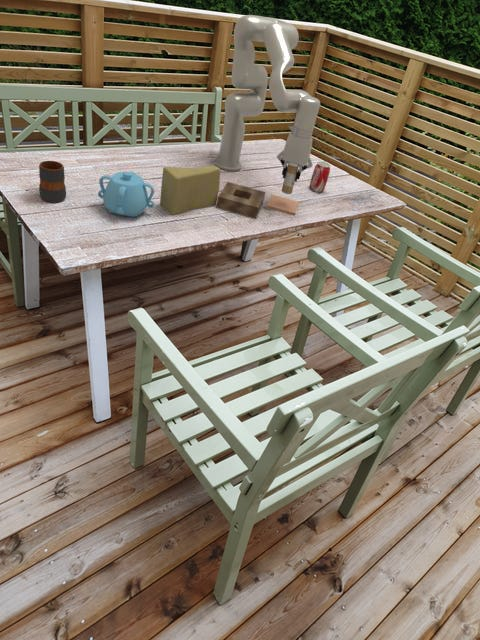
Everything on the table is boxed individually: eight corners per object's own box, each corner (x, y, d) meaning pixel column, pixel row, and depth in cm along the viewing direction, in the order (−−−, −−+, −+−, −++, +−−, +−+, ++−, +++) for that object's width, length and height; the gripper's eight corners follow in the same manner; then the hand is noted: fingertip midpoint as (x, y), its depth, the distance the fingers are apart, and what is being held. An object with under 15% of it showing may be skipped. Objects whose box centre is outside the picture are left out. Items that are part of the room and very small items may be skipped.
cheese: (208, 198, 192) (215, 161, 183) (222, 209, 187) (229, 172, 177) (158, 203, 180) (162, 164, 171) (170, 216, 175) (175, 176, 165)
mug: (57, 187, 175) (56, 155, 168) (70, 202, 168) (69, 169, 161) (32, 189, 170) (30, 156, 163) (44, 204, 164) (42, 171, 156)
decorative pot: (94, 201, 172) (94, 164, 164) (135, 196, 181) (137, 161, 173) (114, 223, 163) (115, 185, 154) (156, 217, 172) (160, 181, 163)
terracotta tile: (266, 207, 196) (266, 205, 195) (270, 196, 205) (271, 194, 205) (294, 215, 195) (295, 213, 194) (298, 204, 205) (298, 201, 204)
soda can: (323, 194, 218) (331, 169, 211) (307, 190, 218) (315, 164, 211) (324, 189, 224) (332, 163, 216) (309, 185, 224) (316, 159, 217)
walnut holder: (216, 207, 187) (218, 196, 184) (225, 192, 200) (227, 181, 197) (256, 218, 186) (258, 207, 184) (263, 202, 199) (265, 192, 196)
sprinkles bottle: (288, 189, 199) (296, 157, 191) (294, 194, 196) (302, 162, 188) (278, 189, 197) (286, 157, 189) (284, 194, 194) (292, 161, 186)
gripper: (279, 129, 179) (267, 176, 190) (323, 140, 178) (309, 187, 190) (281, 124, 185) (270, 170, 196) (324, 135, 184) (311, 181, 195)
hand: (290, 178), depth 193 cm, fingers closed on sprinkles bottle, 4 cm apart
